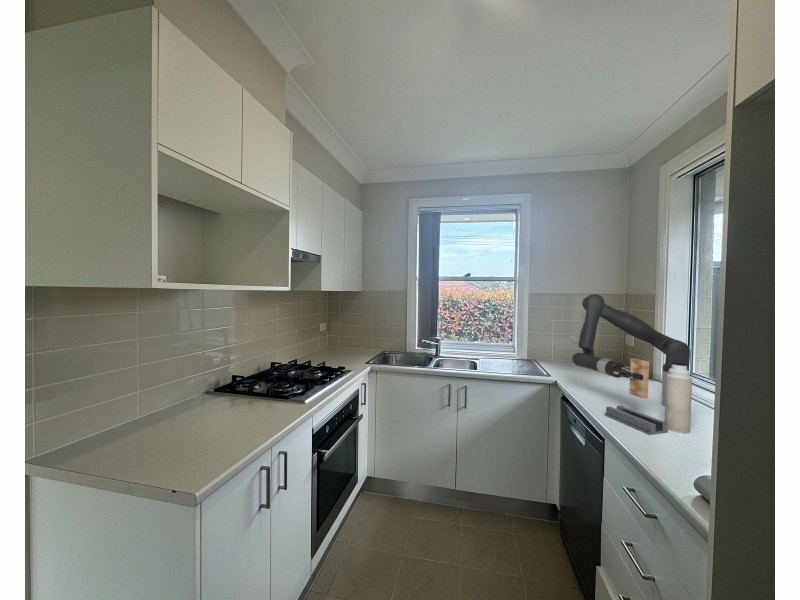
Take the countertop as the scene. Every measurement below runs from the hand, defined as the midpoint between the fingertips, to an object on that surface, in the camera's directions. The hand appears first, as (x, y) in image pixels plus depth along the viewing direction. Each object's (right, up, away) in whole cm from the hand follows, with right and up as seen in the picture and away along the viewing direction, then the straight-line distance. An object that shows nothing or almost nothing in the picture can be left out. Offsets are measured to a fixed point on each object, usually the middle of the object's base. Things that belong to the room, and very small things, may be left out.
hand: (645, 377), depth 136 cm
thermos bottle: (+9, -20, -5) cm, 23 cm away
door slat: (-1, -9, +3) cm, 9 cm away
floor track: (-5, -20, 0) cm, 21 cm away
